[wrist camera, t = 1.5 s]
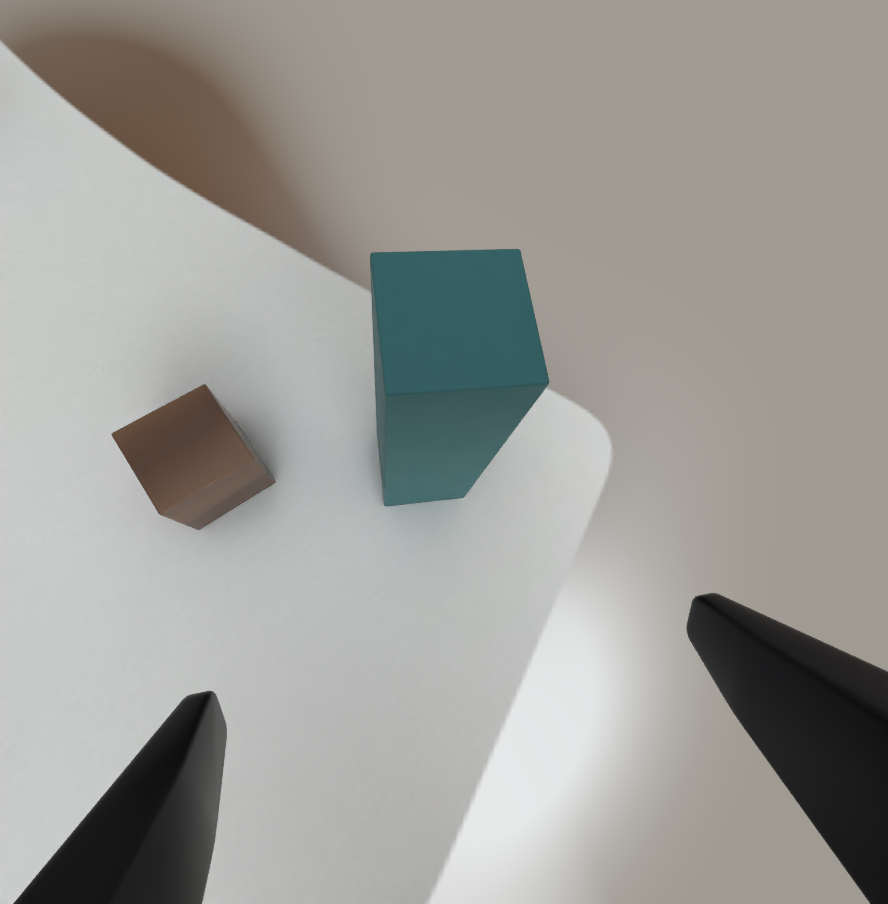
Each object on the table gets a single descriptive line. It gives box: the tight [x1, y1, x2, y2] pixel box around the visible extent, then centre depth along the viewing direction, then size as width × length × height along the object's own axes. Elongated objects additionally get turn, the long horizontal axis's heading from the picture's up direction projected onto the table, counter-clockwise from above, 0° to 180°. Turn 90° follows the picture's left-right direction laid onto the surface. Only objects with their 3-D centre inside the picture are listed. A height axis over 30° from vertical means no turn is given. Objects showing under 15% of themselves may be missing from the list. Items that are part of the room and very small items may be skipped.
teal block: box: [370, 249, 549, 506], centre depth 18 cm, size 4×4×13 cm
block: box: [112, 384, 275, 530], centre depth 21 cm, size 4×4×4 cm
